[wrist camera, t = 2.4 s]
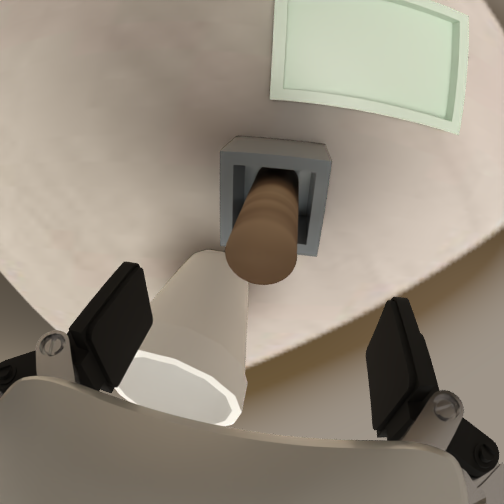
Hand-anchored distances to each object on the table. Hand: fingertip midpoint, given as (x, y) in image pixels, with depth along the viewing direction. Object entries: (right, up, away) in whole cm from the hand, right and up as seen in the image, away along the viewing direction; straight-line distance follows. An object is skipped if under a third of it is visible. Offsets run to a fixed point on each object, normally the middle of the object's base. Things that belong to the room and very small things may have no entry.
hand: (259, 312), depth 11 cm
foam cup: (-4, 0, +17) cm, 18 cm away
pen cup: (+2, +8, +11) cm, 14 cm away
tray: (+8, +16, +5) cm, 19 cm away
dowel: (+2, +7, +11) cm, 13 cm away
